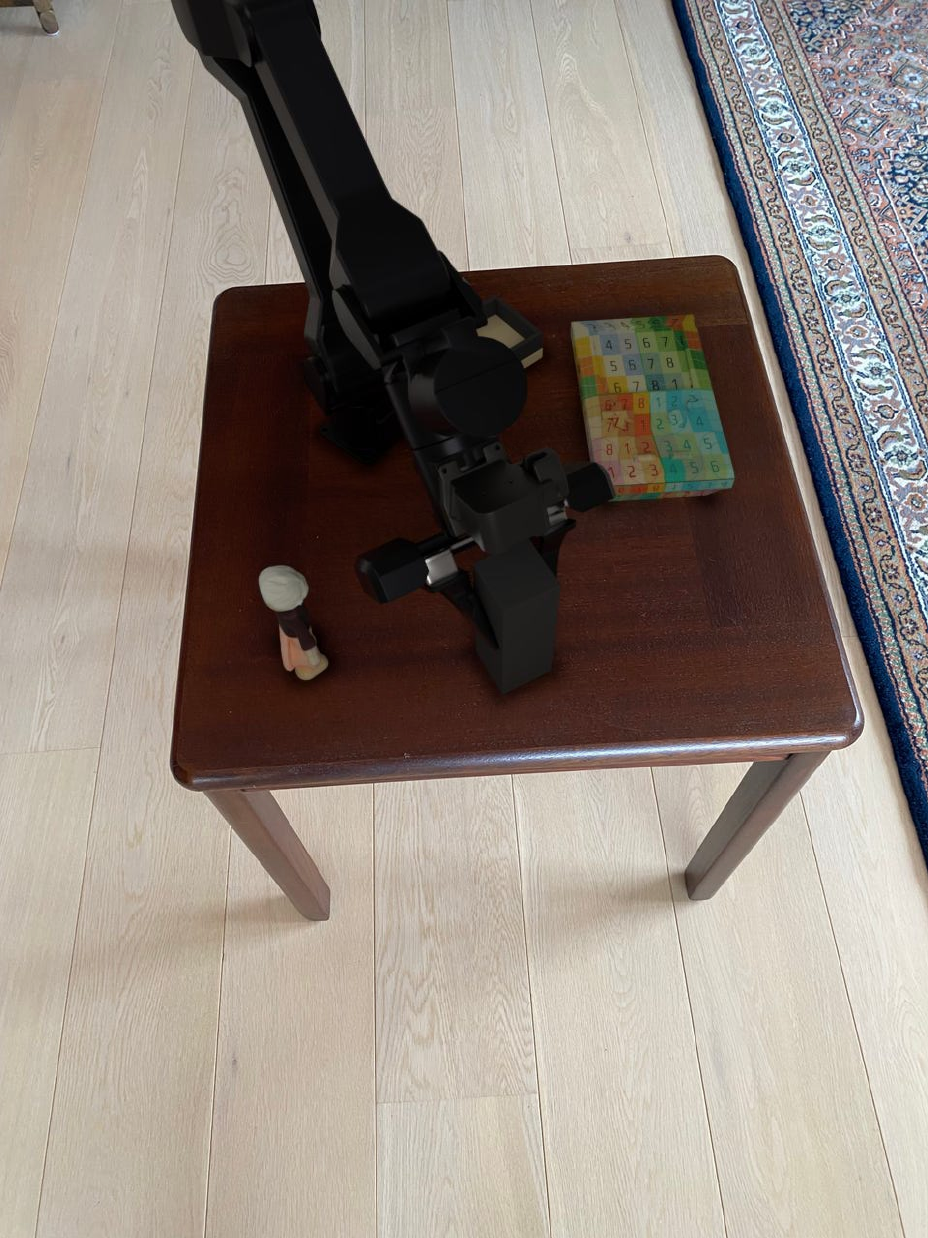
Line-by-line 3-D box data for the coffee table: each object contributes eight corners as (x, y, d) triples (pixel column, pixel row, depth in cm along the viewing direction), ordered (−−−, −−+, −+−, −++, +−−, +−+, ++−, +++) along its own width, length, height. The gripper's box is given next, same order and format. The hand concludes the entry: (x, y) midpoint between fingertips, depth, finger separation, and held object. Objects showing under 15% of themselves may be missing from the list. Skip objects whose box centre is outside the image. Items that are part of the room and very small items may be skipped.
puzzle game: (598, 480, 77) (572, 314, 87) (593, 513, 82) (568, 351, 92) (737, 471, 77) (695, 306, 87) (725, 505, 81) (686, 344, 92)
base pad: (486, 392, 89) (486, 368, 86) (440, 351, 92) (438, 326, 89) (542, 357, 91) (543, 332, 88) (496, 318, 94) (496, 293, 91)
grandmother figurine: (263, 640, 76) (223, 555, 65) (302, 615, 77) (270, 527, 66) (313, 707, 73) (280, 629, 62) (353, 680, 74) (328, 599, 63)
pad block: (475, 651, 75) (471, 563, 64) (523, 628, 76) (528, 537, 65) (502, 695, 73) (503, 612, 62) (551, 670, 74) (561, 584, 63)
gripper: (347, 494, 54) (443, 722, 59) (617, 378, 58) (687, 600, 63) (317, 485, 64) (400, 679, 69) (547, 387, 68) (611, 577, 73)
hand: (523, 634), depth 68 cm, fingers closed on pad block, 4 cm apart
